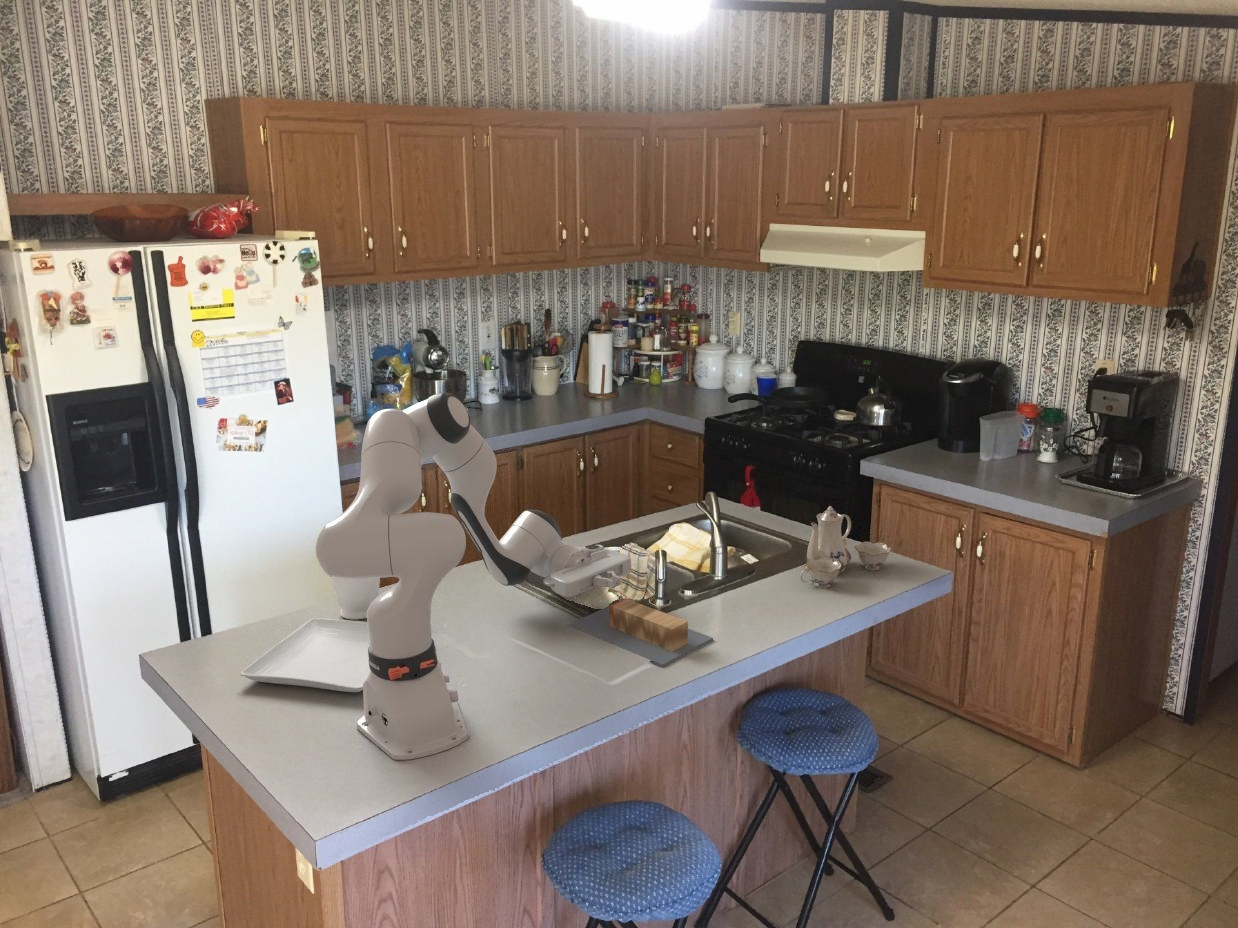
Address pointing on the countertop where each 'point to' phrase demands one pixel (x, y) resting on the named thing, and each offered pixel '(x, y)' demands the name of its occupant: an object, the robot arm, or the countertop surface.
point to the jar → (355, 596)
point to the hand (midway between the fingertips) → (616, 583)
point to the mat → (636, 639)
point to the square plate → (317, 657)
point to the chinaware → (837, 550)
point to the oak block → (649, 624)
